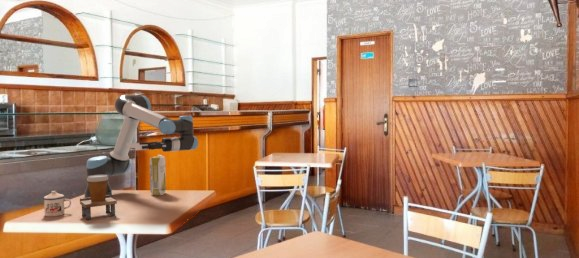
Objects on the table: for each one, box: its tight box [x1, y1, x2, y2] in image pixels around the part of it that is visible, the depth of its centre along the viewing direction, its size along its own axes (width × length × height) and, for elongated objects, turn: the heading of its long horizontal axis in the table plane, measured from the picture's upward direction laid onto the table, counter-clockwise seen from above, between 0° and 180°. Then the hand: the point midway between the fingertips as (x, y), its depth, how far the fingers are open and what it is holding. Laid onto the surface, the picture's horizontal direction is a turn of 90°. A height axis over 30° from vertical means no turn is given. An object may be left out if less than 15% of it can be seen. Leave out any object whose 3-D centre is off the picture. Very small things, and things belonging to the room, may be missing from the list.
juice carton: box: [149, 154, 167, 196], centre depth 262 cm, size 9×8×24 cm
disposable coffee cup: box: [86, 175, 109, 202], centre depth 209 cm, size 10×10×12 cm
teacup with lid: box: [43, 190, 72, 217], centre depth 214 cm, size 12×9×12 cm
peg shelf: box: [79, 195, 118, 221], centre depth 210 cm, size 12×14×8 cm
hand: (130, 146), depth 226 cm, fingers open, 13 cm apart
